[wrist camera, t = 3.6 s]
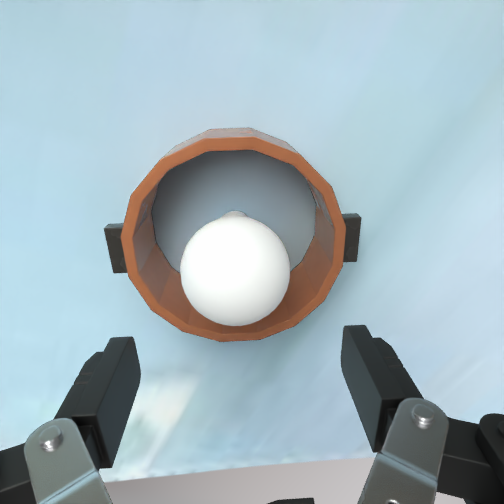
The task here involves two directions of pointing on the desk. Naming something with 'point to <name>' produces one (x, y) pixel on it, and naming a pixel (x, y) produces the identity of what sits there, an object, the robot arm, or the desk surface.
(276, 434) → the desk surface
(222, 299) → the lightbulb
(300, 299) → the copper pot
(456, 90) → the desk surface
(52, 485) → the robot arm
